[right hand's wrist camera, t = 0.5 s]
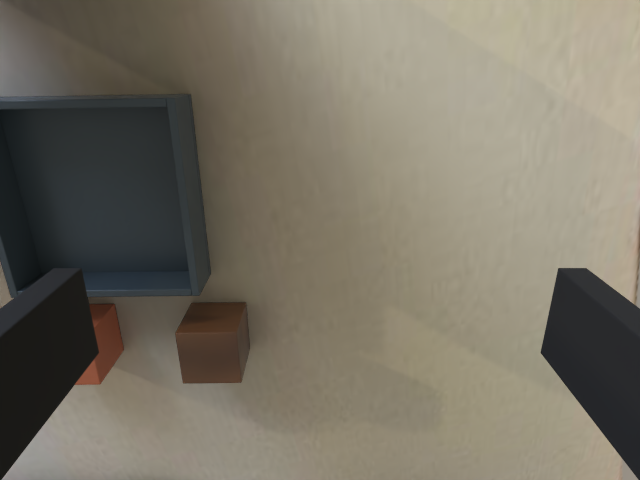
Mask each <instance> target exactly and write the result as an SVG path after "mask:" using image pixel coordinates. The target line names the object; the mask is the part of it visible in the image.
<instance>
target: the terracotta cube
mask: <svg viewBox="0 0 640 480" xmlns="http://www.w3.org/2000/svg"><path fill="white" fill-rule="evenodd" d="M89 306H90V311H91V316H92V320H93V325H94V330H95V335H96V340H97V344H98V349H99V354H98V355H97V356H96V358H95V359H94V360H93V361H92V363H91V364H90V365H89V367H88V368H87V369H86V371H85V372H84V373H83V374H82V376H81V377H80V378H79V380H78V381H77V382H76V384H75V385H87V384H101V382H102V381H103V380H104V378H105V377H106V375H107V374H108V372H109V371H110V369H111V368H112V366H113V365H114V364H115V362H116V361H117V359H118V358H119V356H120V355H121V353H122V352H123V350H124V348H123V343H122V338H121V333H120V329H119V324H118V319H117V314H116V309H115V304H89Z"/></svg>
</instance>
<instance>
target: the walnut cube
mask: <svg viewBox="0 0 640 480" xmlns="http://www.w3.org/2000/svg"><path fill="white" fill-rule="evenodd" d="M175 335H176V341H177V348H178V354H179V361H180V367H181V374H182V380H183V383H241V382H242V378H243V374H244V370H245V366H246V362H247V358H248V354H249V350H250V343H249V332H248V320H247V308H246V302H237V303H191V305H190V307H189V309H188V311H187V313H186V314H185V316H184V318H183V320H182V322H181V324H180V326H179V327H178V329H177V331H176V333H175Z"/></svg>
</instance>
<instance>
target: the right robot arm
mask: <svg viewBox="0 0 640 480" xmlns="http://www.w3.org/2000/svg"><path fill="white" fill-rule="evenodd" d="M98 354H99V349H98V344H97V340H96V335H95V330H94V325H93V320H92V316H91V311H90V306H89V301H88V296H87V292H86V287H85V282H84V277H83V273H82V268H54V269H52V270H51V271H50V272H48V273H47V274H46V275H44V276H43V277H42V278H40V279H39V280H38V281H36V282H35V283H34V284H32V285H31V286H30V287H28V288H27V289H26V290H24V291H23V292H22V293H20V294H19V295H18V296H17V297H15V298H14V299H13V300H11V301H10V302H9V303H7V304H6V305H5V306H3V307H2V308H1V309H0V480H1V479H2V478H3V477H4V475H5V474H6V473H7V472H8V470H9V469H10V468H11V466H12V465H13V464H14V463H15V461H16V460H17V459H18V457H19V456H20V455H21V453H22V452H23V451H24V450H25V448H26V447H27V446H28V444H29V443H30V442H31V441H32V439H33V438H34V437H35V435H36V434H37V433H38V431H39V430H40V429H41V428H42V426H43V425H44V424H45V422H46V421H47V420H48V418H49V417H50V416H51V415H52V413H53V412H54V411H55V409H56V408H57V407H58V406H59V404H60V403H61V402H62V400H63V399H64V398H65V396H66V395H67V394H68V393H69V391H70V390H71V389H72V387H73V386H74V385H75V384H76V382H77V381H78V380H79V378H80V377H81V376H82V374H83V373H84V372H85V371H86V369H87V368H88V367H89V365H90V364H91V363H92V361H93V360H94V359H95V358H96V356H97V355H98ZM541 354H542V355H543V356H544V358H545V359H546V360H547V361H548V363H549V364H550V365H551V367H552V368H553V369H554V371H555V372H556V373H557V374H558V376H559V377H560V378H561V380H562V381H563V382H564V384H565V385H566V386H567V387H568V389H569V390H570V391H571V393H572V394H573V395H574V396H575V398H576V399H577V400H578V402H579V403H580V404H581V406H582V407H583V408H584V409H585V411H586V412H587V413H588V415H589V416H590V417H591V418H592V420H593V421H594V422H595V424H596V425H597V426H598V428H599V429H600V430H601V431H602V433H603V434H604V435H605V437H606V438H607V439H608V441H609V442H610V443H611V444H612V446H613V447H614V448H615V450H616V451H617V452H618V453H619V455H620V456H621V457H622V459H623V460H624V461H625V463H626V464H627V465H628V466H629V468H630V469H631V470H632V472H633V473H634V474H635V475H636V477H637V478H638V479H639V480H640V309H639V308H638V307H637V306H635V305H634V304H633V303H631V302H630V301H629V300H627V299H626V298H625V297H623V296H622V295H621V294H620V293H618V292H617V291H616V290H614V289H613V288H612V287H610V286H609V285H608V284H606V283H605V282H604V281H602V280H601V279H600V278H598V277H597V276H596V275H594V274H593V273H592V272H590V271H589V270H588V269H586V268H558V273H557V277H556V282H555V287H554V292H553V296H552V301H551V306H550V311H549V316H548V320H547V325H546V330H545V335H544V340H543V344H542V349H541Z"/></svg>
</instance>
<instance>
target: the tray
mask: <svg viewBox="0 0 640 480" xmlns="http://www.w3.org/2000/svg"><path fill="white" fill-rule="evenodd" d="M0 261H1V265H2V268H3V271H4V275H5V278H6V281H7V285H8V288H9V292H10V295H11V298H15V297H17V296H18V295H19V294H20V293H22V292H23V291H24V290H26V289H27V288H28V287H30V286H31V285H32V284H34V283H35V282H36V281H38V280H39V279H40V278H42V277H43V276H44V275H46V274H47V273H48V272H50V271H51V270H52V269H54V268H82V273H83V277H84V282H85V287H86V292H87V296H88V297H122V296H199V295H200V293H201V292H202V290H203V288H204V286H205V284H206V282H207V280H208V278H209V276H210V274H211V270H210V261H209V253H208V244H207V235H206V226H205V217H204V208H203V200H202V191H201V182H200V173H199V164H198V155H197V147H196V138H195V129H194V120H193V111H192V103H191V95H190V94H167V95H100V96H33V97H0Z"/></svg>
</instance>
